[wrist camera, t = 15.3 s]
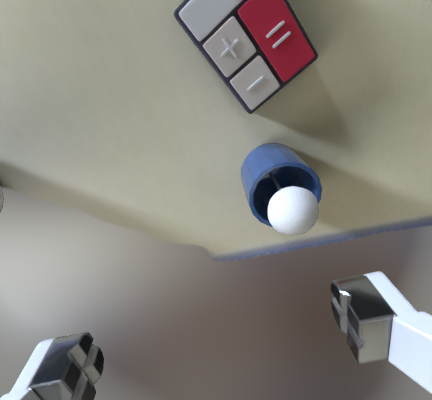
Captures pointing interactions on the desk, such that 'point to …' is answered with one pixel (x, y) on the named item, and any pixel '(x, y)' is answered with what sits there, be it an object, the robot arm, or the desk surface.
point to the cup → (282, 171)
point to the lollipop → (292, 209)
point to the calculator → (249, 44)
